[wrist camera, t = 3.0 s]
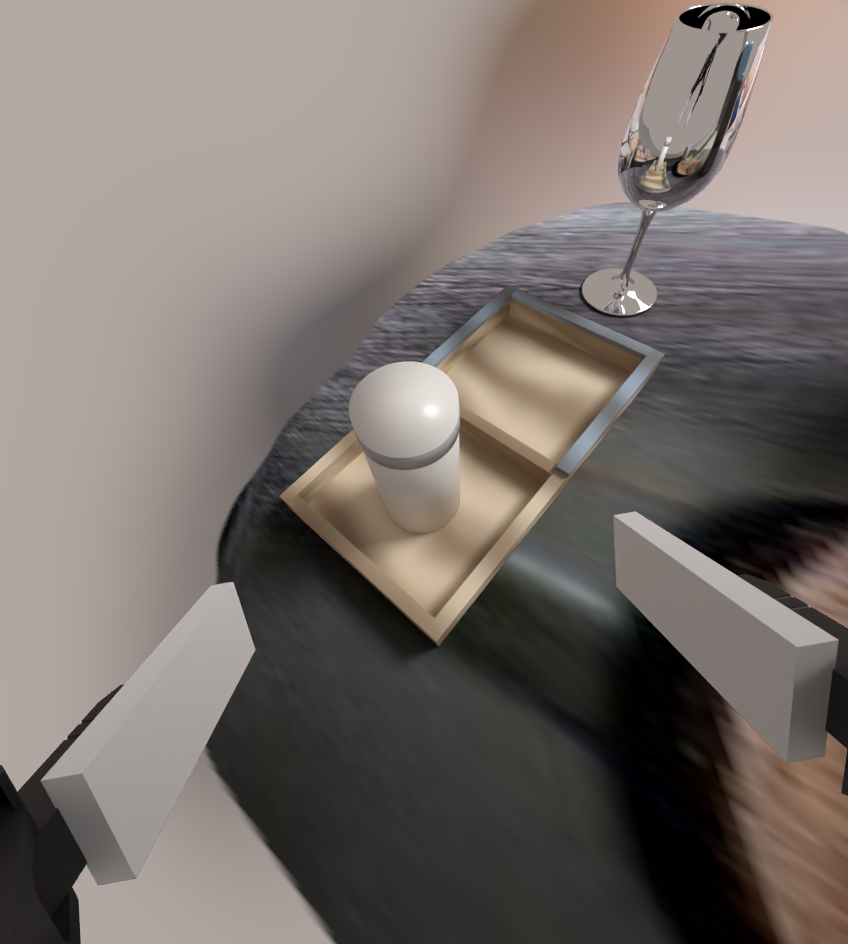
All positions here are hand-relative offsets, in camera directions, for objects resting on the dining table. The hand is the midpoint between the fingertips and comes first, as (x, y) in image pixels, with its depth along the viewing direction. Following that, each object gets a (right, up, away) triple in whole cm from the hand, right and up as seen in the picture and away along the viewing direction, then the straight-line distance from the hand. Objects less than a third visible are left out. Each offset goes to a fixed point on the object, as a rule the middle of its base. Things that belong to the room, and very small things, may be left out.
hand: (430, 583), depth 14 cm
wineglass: (+20, +23, +29) cm, 42 cm away
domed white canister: (0, +2, +18) cm, 19 cm away
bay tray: (+5, +7, +21) cm, 23 cm away
